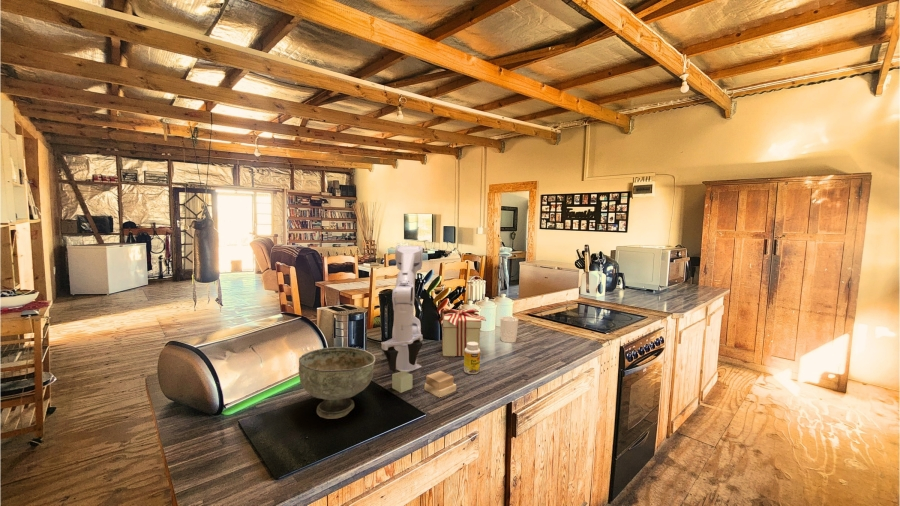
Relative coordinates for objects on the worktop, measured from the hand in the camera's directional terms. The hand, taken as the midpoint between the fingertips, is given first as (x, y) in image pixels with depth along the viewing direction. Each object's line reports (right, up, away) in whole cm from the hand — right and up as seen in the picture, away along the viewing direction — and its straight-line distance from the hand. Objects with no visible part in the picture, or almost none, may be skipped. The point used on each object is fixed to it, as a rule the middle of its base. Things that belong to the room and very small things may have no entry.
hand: (402, 367), depth 116 cm
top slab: (+12, -5, 0) cm, 13 cm away
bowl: (-16, -8, -13) cm, 22 cm away
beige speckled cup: (+41, -4, +50) cm, 65 cm away
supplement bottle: (+23, -6, +15) cm, 28 cm away
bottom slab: (+12, -8, 0) cm, 14 cm away
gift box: (+20, -5, +34) cm, 40 cm away
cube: (0, -7, +1) cm, 7 cm away
